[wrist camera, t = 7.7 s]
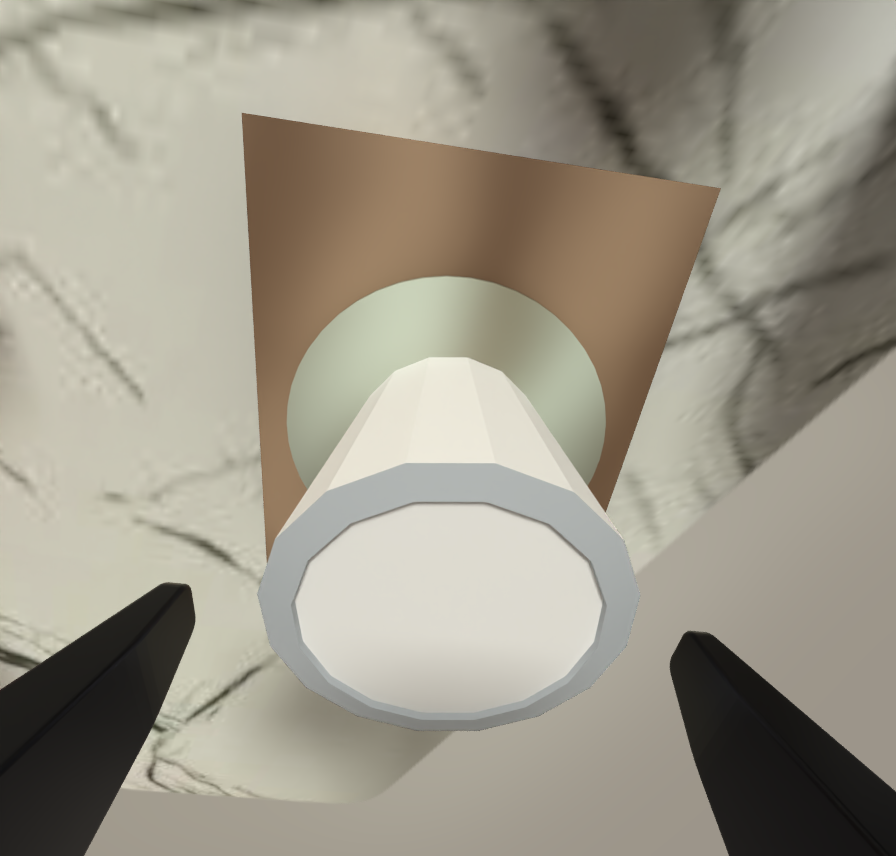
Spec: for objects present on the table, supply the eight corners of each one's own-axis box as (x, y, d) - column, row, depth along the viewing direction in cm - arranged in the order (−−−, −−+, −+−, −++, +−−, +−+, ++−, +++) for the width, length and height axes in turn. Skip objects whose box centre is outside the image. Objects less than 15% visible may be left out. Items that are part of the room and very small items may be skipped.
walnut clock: (650, 191, 16) (729, 187, 11) (544, 549, 23) (567, 632, 18) (296, 136, 15) (234, 110, 11) (301, 524, 22) (265, 604, 18)
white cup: (587, 360, 13) (713, 506, 7) (522, 541, 16) (570, 754, 10) (351, 312, 13) (258, 425, 6) (329, 510, 16) (252, 717, 9)
